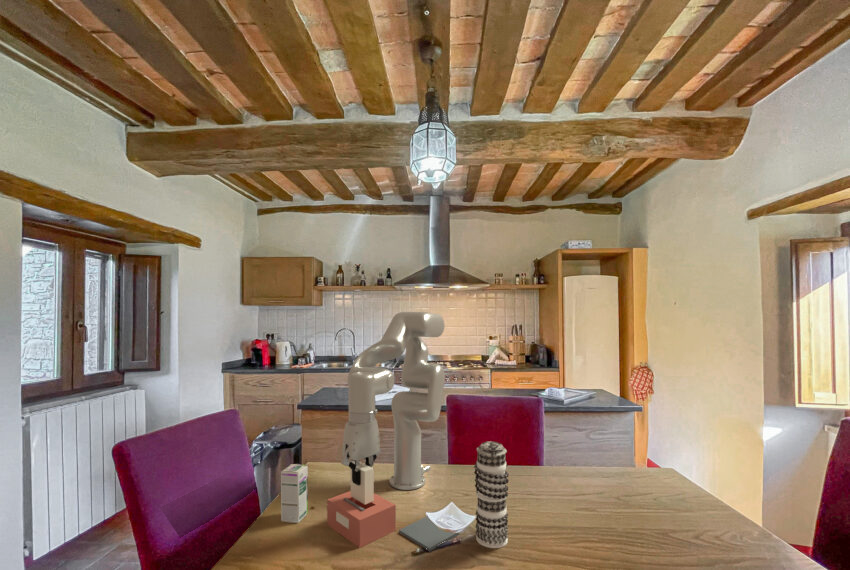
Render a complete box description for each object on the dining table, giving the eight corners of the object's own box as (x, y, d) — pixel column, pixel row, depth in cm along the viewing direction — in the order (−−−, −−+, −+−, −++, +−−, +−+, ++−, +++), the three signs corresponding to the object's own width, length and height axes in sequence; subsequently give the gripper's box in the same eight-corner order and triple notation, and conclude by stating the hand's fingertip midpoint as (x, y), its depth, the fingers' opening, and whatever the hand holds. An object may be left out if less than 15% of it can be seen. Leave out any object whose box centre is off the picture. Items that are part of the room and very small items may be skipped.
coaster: (430, 517, 123) (430, 514, 123) (460, 533, 115) (460, 530, 115) (399, 532, 115) (399, 529, 115) (429, 551, 106) (429, 548, 107)
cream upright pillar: (359, 492, 122) (359, 461, 122) (373, 500, 117) (373, 468, 117) (350, 496, 120) (350, 464, 120) (364, 504, 115) (364, 471, 115)
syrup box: (298, 523, 120) (299, 472, 120) (279, 521, 121) (280, 470, 122) (308, 513, 125) (308, 464, 126) (290, 511, 127) (290, 463, 127)
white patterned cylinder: (473, 529, 117) (472, 438, 118) (506, 530, 117) (505, 439, 118) (475, 548, 108) (475, 450, 109) (512, 549, 107) (511, 450, 109)
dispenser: (361, 510, 128) (362, 485, 128) (395, 530, 116) (395, 503, 117) (326, 524, 119) (326, 498, 120) (359, 548, 108) (359, 519, 108)
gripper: (376, 408, 128) (376, 469, 127) (329, 419, 116) (329, 486, 116) (392, 413, 122) (392, 477, 122) (344, 425, 111) (344, 495, 110)
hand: (361, 481), depth 119 cm, fingers closed on cream upright pillar, 3 cm apart
